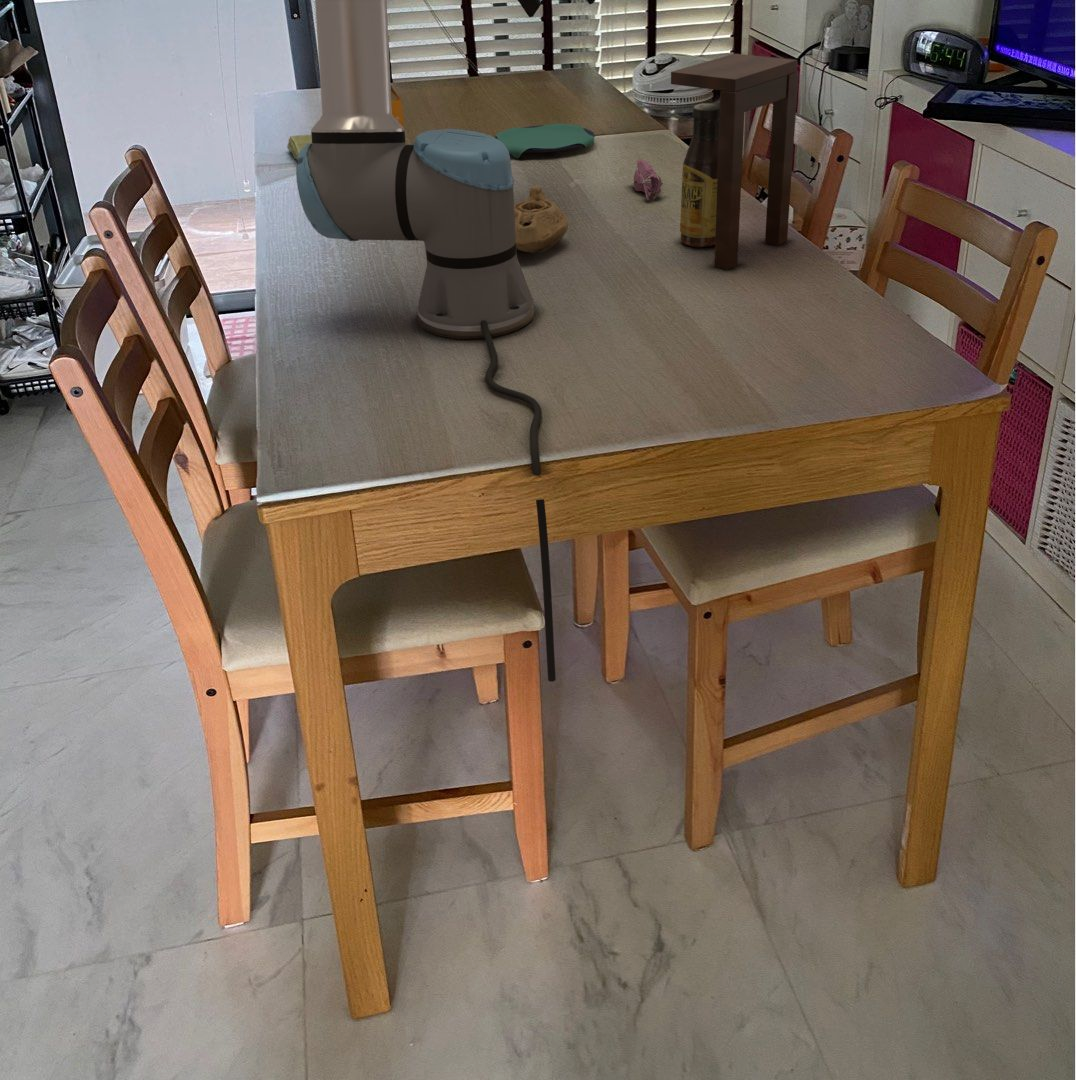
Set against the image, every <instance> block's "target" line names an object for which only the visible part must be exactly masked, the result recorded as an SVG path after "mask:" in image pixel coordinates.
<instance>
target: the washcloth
mask: <svg viewBox="0 0 1076 1080" xmlns="http://www.w3.org/2000/svg"><path fill="white" fill-rule="evenodd" d="M309 143H312V136H311V134H297V135H291V136H289V138H288V143H287V147H286V148H287V149H288V151H289V152H291V154H292V156H293V158H294V159H295V160H297V158H298V155H299V152H300V150H301V149H302V148H303V147H304V146H306V145H307V144H309Z"/></svg>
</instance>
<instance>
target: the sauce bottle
mask: <svg viewBox="0 0 1076 1080" xmlns="http://www.w3.org/2000/svg"><path fill="white" fill-rule="evenodd" d="M692 118H693V126H692V127H693V128H692V129H693V131H692V137H691V139H690V143H689V145H688V147H687V148H688V149H687V151H686V154H685V157H684V158H683V159H684V160H683V163H682V173H681V174H682V175H681V176H682V178H681V197H680V218H679V219H680V221H679V231H680V241H681V243H682V244H684V245H686V246H689V247H692V248H707V247H713V246H715V234H716V205H717V177H718V148H719V120H720V104H717V103H708V102H707V103H698V104H695V105H694V106H693V108H692Z"/></svg>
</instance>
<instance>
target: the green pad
mask: <svg viewBox="0 0 1076 1080" xmlns="http://www.w3.org/2000/svg"><path fill="white" fill-rule="evenodd" d="M494 136H495V137H494V138H496V139H498V140H500V141H501V142H502V143H503V144H504V145H505V146H506V147H507V149H508V151H509V154H510V156H513V158H515V159H517V160H518V159H520V157H521V155H522V154H523V153H551V152H553V153H554V152H561V151H567V150H572V149H575V148H580V147H583V148H584V149H585V148H588V147H590V146H592V145H593V144H594V143H595V140H596V139H595V138H596V135H595V133H594V132H593V131H592V130H589V129H588V128H585V127H583V126H582V125H579V124H571V123H550V124H545V125H544V124H542V125H532V126H531V125H530V126H524V127H511V128H507V129H505V130H503V131H501V132H498V133H496V134H495V135H494Z"/></svg>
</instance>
